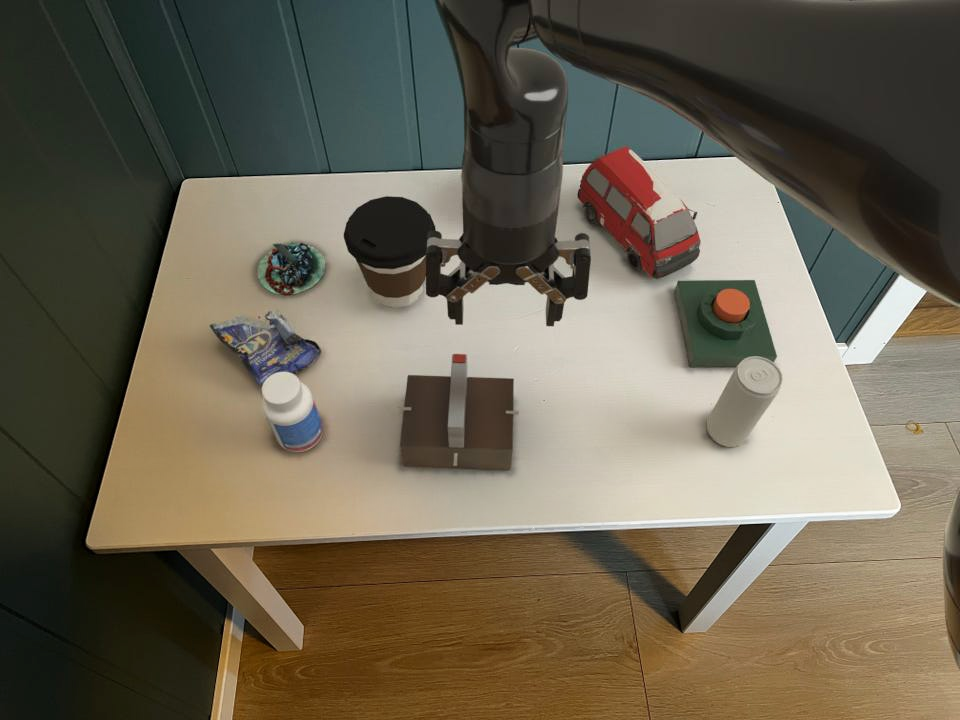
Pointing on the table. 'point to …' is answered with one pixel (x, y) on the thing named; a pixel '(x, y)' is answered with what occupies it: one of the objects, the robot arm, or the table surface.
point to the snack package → (267, 345)
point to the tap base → (483, 424)
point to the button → (731, 305)
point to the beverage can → (744, 400)
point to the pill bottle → (291, 412)
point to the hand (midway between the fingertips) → (504, 318)
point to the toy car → (640, 213)
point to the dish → (291, 268)
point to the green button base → (721, 325)
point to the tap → (457, 401)
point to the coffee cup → (390, 247)
